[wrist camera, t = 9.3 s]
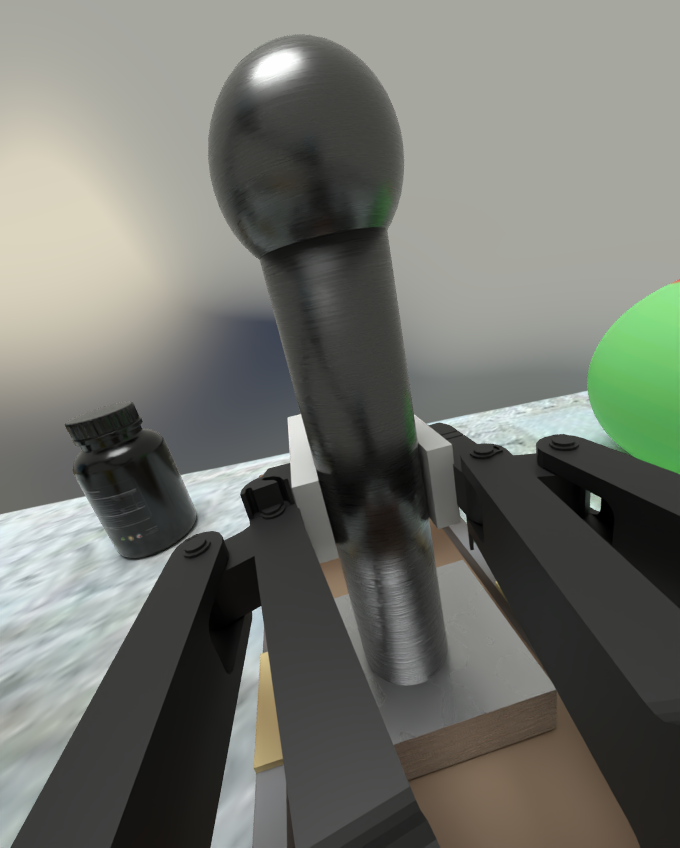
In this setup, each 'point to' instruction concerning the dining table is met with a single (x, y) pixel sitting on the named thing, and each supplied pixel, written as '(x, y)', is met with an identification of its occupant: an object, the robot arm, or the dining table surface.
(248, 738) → the dining table surface
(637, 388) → the toy bird
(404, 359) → the press handle
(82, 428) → the supplement bottle
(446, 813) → the press base
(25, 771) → the dining table surface
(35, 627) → the dining table surface
